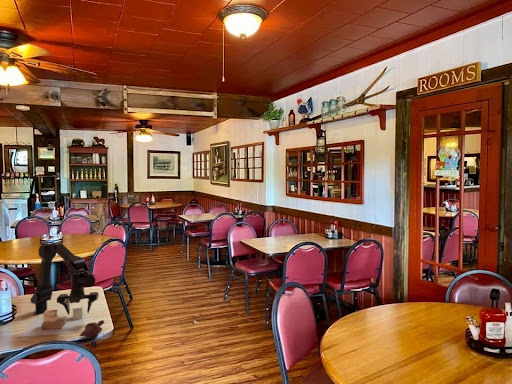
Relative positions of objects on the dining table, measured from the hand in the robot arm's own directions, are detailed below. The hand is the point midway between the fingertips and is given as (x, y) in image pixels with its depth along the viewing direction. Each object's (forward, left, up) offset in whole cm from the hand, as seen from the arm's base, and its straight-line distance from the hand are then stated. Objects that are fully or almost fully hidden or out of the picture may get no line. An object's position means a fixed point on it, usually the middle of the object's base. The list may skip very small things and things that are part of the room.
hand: (78, 313), depth 195 cm
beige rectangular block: (-9, -2, -6) cm, 11 cm away
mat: (-1, -11, -6) cm, 13 cm away
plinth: (0, -11, -6) cm, 13 cm away
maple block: (0, -13, -2) cm, 13 cm away
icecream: (+16, +10, -6) cm, 19 cm away
